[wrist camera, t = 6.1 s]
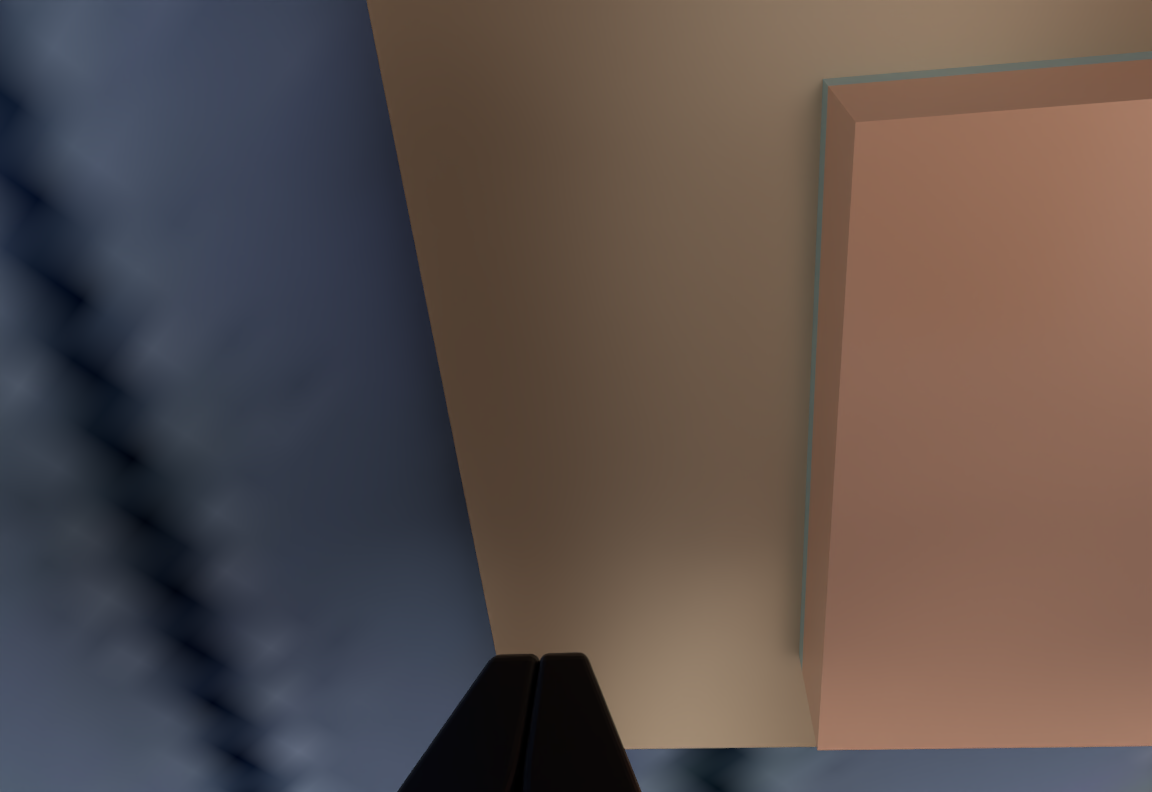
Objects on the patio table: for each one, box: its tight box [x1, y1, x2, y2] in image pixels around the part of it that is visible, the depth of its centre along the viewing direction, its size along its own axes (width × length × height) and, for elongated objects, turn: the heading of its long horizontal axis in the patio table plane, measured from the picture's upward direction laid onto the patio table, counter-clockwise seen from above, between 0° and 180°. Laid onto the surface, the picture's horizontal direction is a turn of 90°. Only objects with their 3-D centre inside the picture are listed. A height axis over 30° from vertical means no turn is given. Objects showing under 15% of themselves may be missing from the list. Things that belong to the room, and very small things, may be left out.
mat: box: [366, 0, 1152, 749], centre depth 11 cm, size 14×12×1 cm
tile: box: [799, 51, 1152, 750], centre depth 10 cm, size 2×8×6 cm
